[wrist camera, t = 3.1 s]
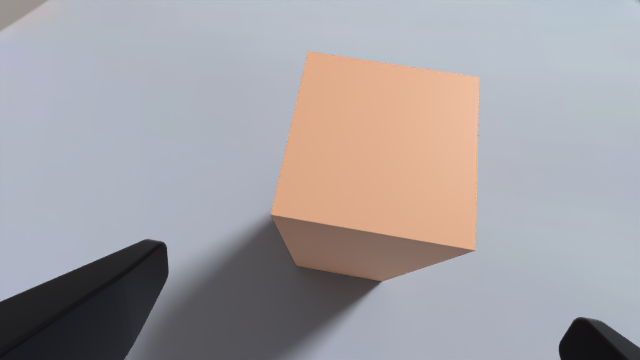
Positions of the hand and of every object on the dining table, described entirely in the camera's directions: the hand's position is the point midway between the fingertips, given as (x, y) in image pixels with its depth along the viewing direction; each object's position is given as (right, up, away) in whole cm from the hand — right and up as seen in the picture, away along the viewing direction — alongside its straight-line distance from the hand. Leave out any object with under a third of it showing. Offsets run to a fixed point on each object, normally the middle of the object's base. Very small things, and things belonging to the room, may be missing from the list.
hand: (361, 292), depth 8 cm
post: (0, 0, +11) cm, 11 cm away
